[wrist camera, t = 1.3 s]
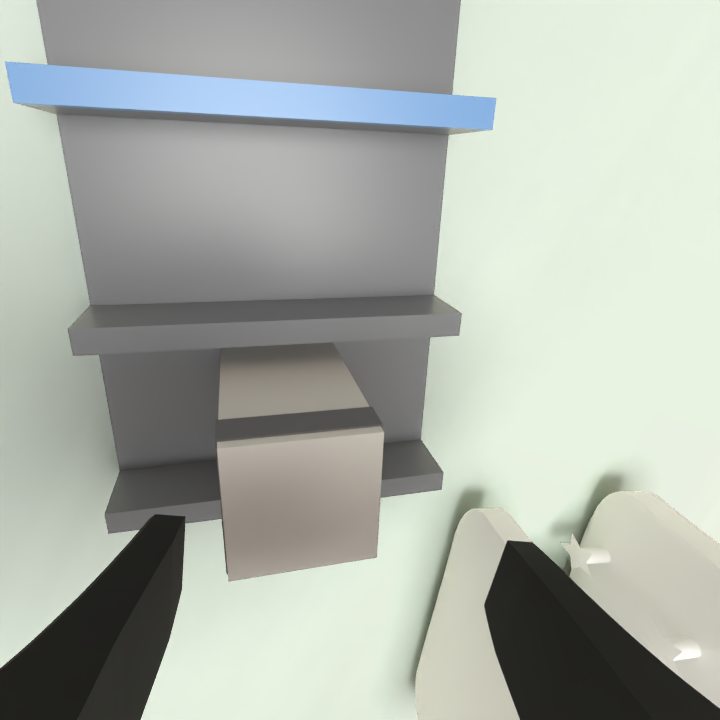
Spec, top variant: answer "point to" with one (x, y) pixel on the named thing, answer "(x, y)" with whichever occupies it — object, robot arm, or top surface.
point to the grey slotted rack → (251, 210)
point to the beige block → (295, 460)
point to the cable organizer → (598, 580)
